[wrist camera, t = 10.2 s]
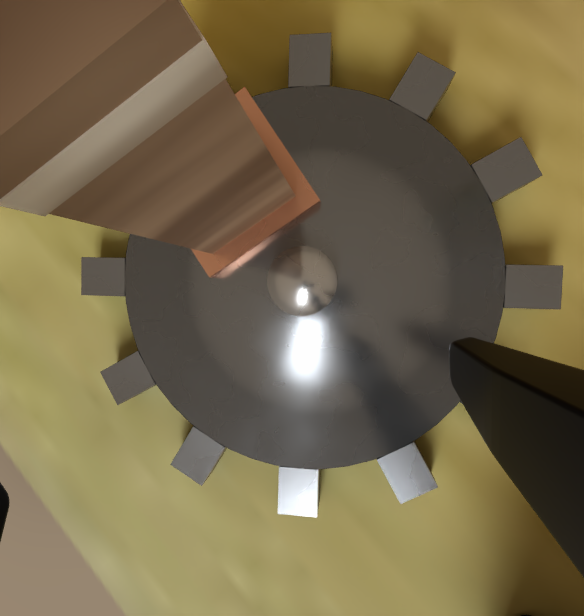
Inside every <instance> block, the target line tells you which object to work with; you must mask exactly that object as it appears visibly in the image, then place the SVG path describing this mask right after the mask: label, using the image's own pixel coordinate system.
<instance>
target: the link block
mask: <svg viewBox="0 0 584 616" xmlns="http://www.w3.org/2000/svg"><path fill="white" fill-rule="evenodd" d="M226 78H227V75H226V73H225V72H224V70H223V68H222V67H221V65H220V63H219V62H218V60H217V58H216V56H215V55H214V53H213V51H212V50H211V48H210V46H209V44H208V43H207V41H206V39H205V38H204V36H203V35H202V33H201V32H200V30H199V29H198V27H197V26H196V24H195V23H194V21H193V20H192V18H191V17H190V15H189V14H188V12H187V11H186V9H185V7H184V6H183V4H182V3H181V1H180V0H0V206H3V207H7V208H12V209H16V210H20V211H24V212H29V213H33V214H37V215H41V216H46V215H48V214H52V215H56V216H60V217H64V218H68V219H72V220H77V221H81V222H85V223H89V224H93V225H97V226H101V227H105V228H109V229H113V230H117V231H121V232H125V233H129V234H133V235H138V236H142V237H146V238H150V239H154V240H158V241H162V242H166V243H170V244H174V245H178V246H182V247H186V248H190V249H194V250H199V251H203V252H207V253H211V254H214V253H215V252H217V251H218V250H219V249H221V248H222V247H224V246H225V245H227V244H228V243H229V242H231V241H232V240H234V239H235V238H237V237H238V236H239V235H241V234H242V233H244V232H245V231H247V230H248V229H250V228H251V227H252V226H254V225H255V224H257V223H258V222H260V221H261V220H262V219H264V218H265V217H267V216H268V215H270V214H271V213H272V212H274V211H275V210H277V209H278V208H280V207H281V206H283V205H284V204H285V203H287V202H288V201H290V200H291V199H293V198H294V197H295V196H296V195H295V194H294V192H293V190H292V189H291V187H290V185H289V184H288V182H287V180H286V179H285V177H284V175H283V174H282V172H281V170H280V169H279V167H278V165H277V164H276V162H275V161H274V159H273V157H272V156H271V154H270V152H269V151H268V149H267V147H266V146H265V144H264V142H263V141H262V139H261V137H260V136H259V134H258V132H257V131H256V129H255V127H254V126H253V124H252V122H251V121H250V119H249V117H248V116H247V114H246V112H245V111H244V109H243V107H242V106H241V104H240V102H239V101H238V99H237V97H236V96H235V94H234V92H233V91H232V89H231V87H230V86H229V84H228V82H227V81H226Z"/></svg>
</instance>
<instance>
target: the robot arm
mask: <svg viewBox="0 0 584 616" xmlns="http://www.w3.org/2000/svg"><path fill="white" fill-rule="evenodd" d="M449 362H450V379H451V382H452V385H453V388H454V389H455V391H456V393H457V395H458V396H459V398H460V400H461V401H462V403H463V405H464V407H465V408H466V410H467V412H468V414H469V415H470V417H471V419H472V420H473V422H474V424H475V426H476V427H477V429H478V431H479V432H480V434H481V436H482V438H483V439H484V441H485V443H486V444H487V446H488V448H489V449H490V451H491V452H492V454H493V455H494V457H495V458H496V460H497V461H498V462H499V464H500V465H501V466H502V468H503V469H504V471H505V472H506V473H507V475H508V476H509V477H510V479H511V480H512V481H513V483H514V484H515V485H516V487H517V488H518V489H519V491H520V492H521V494H522V495H523V496H524V498H525V499H526V500H527V502H528V503H529V504H530V506H531V507H532V508H533V510H534V511H535V512H536V514H537V515H538V517H539V518H540V519H541V521H542V522H543V523H544V525H545V526H546V527H547V529H548V530H549V531H550V533H551V534H552V535H553V537H554V538H555V540H556V541H557V542H558V544H559V545H560V546H561V548H562V549H563V550H564V552H565V553H566V554H567V556H568V557H569V558H570V560H571V561H572V563H573V564H574V565H575V567H576V568H577V569H578V571H579V572H580V573H581V575H582V576H583V577H584V370H581V369H578V368H575V367H571V366H568V365H564V364H561V363H558V362H554V361H551V360H548V359H544V358H541V357H537V356H534V355H531V354H527V353H524V352H521V351H517V350H514V349H510V348H507V347H504V346H500V345H497V344H494V343H490V342H487V341H483V340H480V339H477V338H473V337H467V338H463V339H459V340H456V341H452V342H451V344H450V346H449ZM8 508H9V497H8V493H7V492H6V490H5V489H4V487H3V486H2V485H1V483H0V541H1V537H2V533H3V529H4V525H5V521H6V517H7V513H8ZM521 616H530V615H521Z"/></svg>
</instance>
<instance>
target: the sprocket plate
mask: <svg viewBox="0 0 584 616" xmlns="http://www.w3.org/2000/svg"><path fill="white" fill-rule="evenodd" d="M332 55H333V51H332V38H331V33H318V34H299V35H290V42H289V83H288V87H289V88H284V89H280V90H275V91H271V92H267V93H263V94H259V95H256V96H254V97H251V95H250V94H249V92H248V91H247V89H246V88H245V87H244V88H242V89H241V90H240V91H238V92H237V93H236V94H235V96H236V97H237V99H238V101H239V102H240V104H241V106H242V107H243V109H244V111H245V112H246V114H247V116H248V117H249V119H250V121H251V122H252V124H253V126H254V127H255V129H256V131H257V132H258V134H259V136H260V137H261V139H262V141H263V142H264V144H265V146H266V147H267V149H268V151H269V152H270V154H271V156H272V157H273V159H274V161H275V162H276V164H277V165H278V167H279V169H280V170H281V172H282V174H283V175H284V177H285V179H286V180H287V182H288V184H289V185H290V187H291V189H292V190H293V192H294V194H295V195H296V196H295V197H294V198H293V199H291V200H290V201H288V202H287V203H285V204H284V205H283V206H281V207H280V208H278V209H277V210H275V211H274V212H272V213H271V214H270V215H268V216H267V217H265V218H264V219H262V220H261V221H260V222H258V223H257V224H255V225H254V226H252V227H251V228H250V229H248V230H247V231H245V232H244V233H242V234H241V235H239V236H238V237H237V238H235V239H234V240H232V241H231V242H229V243H228V244H227V245H225V246H224V247H222V248H221V249H219V250H218V251H217V252H215V253H214V254H211V253H207V252H203V251H199V250H194V249H190V248H186V247H182V246H178V245H174V244H170V243H166V242H162V241H158V240H154V239H150V238H146V237H142V236H138V235H133V234H130V236H129V241H128V246H127V252H126V258H95V257H82V287H81V295H100V296H126V304H127V310H128V316H129V321H130V326H131V329H132V332H133V335H134V338H135V342H136V345H137V348H138V350H139V351H137V352H135V353H133V354H131V355H130V356H128V357H126V358H124V359H122V360H121V361H119V362H117V363H115V364H114V365H112V366H110V367H108V368H106V369H105V370H103V371H101V374H102V376H103V378H104V380H105V382H106V384H107V386H108V388H109V390H110V392H111V393H112V395H113V397H114V399H115V401H116V403H117V405H119V404H121V403H123V402H125V401H127V400H129V399H131V398H133V397H135V396H136V395H138V394H140V393H142V392H144V391H146V390H148V389H149V388H151V387H153V386H155V385H157V386H158V387H159V389H160V390H161V391H162V393H163V394H164V395H165V396H166V398H167V399H168V400H169V401H170V403H171V404H172V405H173V406H174V407H175V408H176V409H177V410H178V411H179V412H180V413H181V414H182V415H183V416H184V417H185V418H186V419H187V420H188V421H189V422H190V423H191V424H192V425H194V426H193V428H192V429H191V431H190V433H189V434H188V436H187V438H186V439H185V441H184V443H183V444H182V446H181V448H180V449H179V451H178V453H177V454H176V456H175V458H174V459H173V461H172V463H171V464H170V465H172V466H173V467H175V468H176V469H178V470H179V471H181V472H182V473H184V474H185V475H187V476H188V477H190V478H191V479H192V480H194V481H195V482H197V483H198V484H200V485H201V486H202V485H203V484H204V482H205V481H206V480H207V478H208V477H209V476H210V474H211V473H212V471H213V470H214V468H215V467H216V465H217V463H218V462H219V460H220V458H221V457H222V455H223V454H224V452H225V450H226V449H227V448H228V449H230V450H233V451H235V452H237V453H240V454H242V455H245V456H247V457H249V458H252V459H255V460H259V461H262V462H266V463H269V464H273V465H278V466H279V491H278V514H287V515H297V516H307V517H317V514H318V507H319V498H320V469H327V468H336V467H345V466H350V465H355V464H359V463H363V462H367V461H371V460H374V459H376V458H377V461H378V463H379V465H380V467H381V468H382V470H383V472H384V474H385V476H386V478H387V480H388V482H389V483H390V485H391V487H392V489H393V491H394V493H395V495H396V496H397V498H398V500H399V502H400V504H402V503H404V502H406V501H408V500H411V499H413V498H415V497H417V496H420V495H422V494H424V493H426V492H428V491H431V490H433V489H435V488H437V487H438V486H437V484H436V481H435V479H434V477H433V475H432V472H431V471H430V469H429V467H428V465H427V463H426V461H425V459H424V458H423V456H422V454H421V452H420V450H419V448H418V446H417V445H416V443H415V441H414V440H416V439H418V438H419V437H420V436H422V435H423V434H424V433H426V432H427V431H429V430H430V429H431V428H433V427H434V426H435V425H437V424H438V423H439V422H440V421H441V420H442V419H443V418H444V417H445V416H446V415H447V414H448V413H449V412H450V411H451V410H452V409H453V408H454V407H455V406H456V405H457V404H458V403H459V402H461V403H462V401H461V400H460V398H459V396H458V395H457V393H456V391H455V389H454V388H453V385H452V382H451V379H450V362H449V346H450V344H451V342H452V341H456V340H459V339H463V338H467V337H473V338H477V339H480V340H483V341H487V342H490V343H494V341H495V339H496V335H497V331H498V327H499V323H500V320H501V316H502V311H503V308H530V309H561V295H562V277H563V266H555V265H505V257H504V250H503V244H502V238H501V232H500V229H499V226H498V222H497V219H496V216H495V213H494V209H493V207H492V204H491V203H493V202H495V201H497V200H499V199H501V198H503V197H504V196H506V195H508V194H510V193H512V192H514V191H515V190H517V189H519V188H521V187H523V186H525V185H527V184H528V183H530V182H532V181H533V180H535V179H537V178H539V177H540V176H542V173H541V171H540V170H539V168H538V166H537V164H536V163H535V161H534V159H533V157H532V155H531V154H530V152H529V150H528V148H527V146H526V145H525V143H524V141H523V139H522V137H520V138H518V139H516V140H515V141H513V142H511V143H509V144H507V145H506V146H504V147H502V148H500V149H498V150H497V151H495V152H493V153H491V154H490V155H488V156H486V157H484V158H482V159H481V160H479V161H477V162H475V163H473V164H472V165H471V166H470V165H469V163H468V162H467V160H466V159H465V158H464V157H463V156H462V155H461V153H460V152H459V151H458V150H457V149H456V148H455V147H454V145H453V144H452V143H451V142H450V141H449V140H448V139H447V138H446V137H444V136H443V135H442V134H441V133H440V132H439V131H438V130H436V129H435V128H434V127H433V126H432V125H431V124H429V123H428V120H429V119H430V117H431V115H432V114H433V112H434V110H435V109H436V107H437V106H438V104H439V102H440V101H441V99H442V97H443V96H444V94H445V93H446V91H447V89H448V87H449V85H450V83H451V81H452V79H453V77H454V75H455V73H456V72H454V71H452V70H450V69H448V68H446V67H445V66H443V65H441V64H439V63H437V62H435V61H433V60H432V59H430V58H428V57H426V56H424V55H422V54H421V53H419V52H418V53H417V54H416V56H415V58H414V59H413V61H412V63H411V64H410V66H409V68H408V69H407V71H406V73H405V74H404V76H403V78H402V79H401V81H400V83H399V84H398V86H397V88H396V89H395V91H394V93H393V94H392V96H391V98H390V99H389V100H386V99H384V98H381V97H378V96H375V95H371V94H368V93H365V92H362V91H358V90H352V89H346V88H340V87H332ZM462 404H463V403H462Z"/></svg>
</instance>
